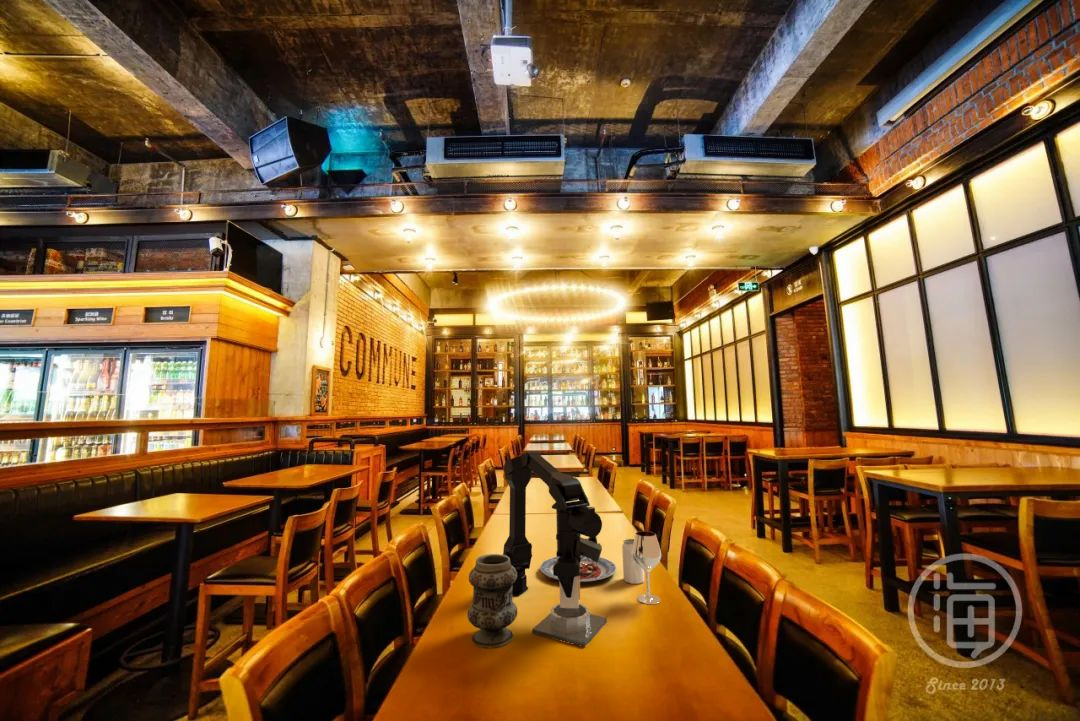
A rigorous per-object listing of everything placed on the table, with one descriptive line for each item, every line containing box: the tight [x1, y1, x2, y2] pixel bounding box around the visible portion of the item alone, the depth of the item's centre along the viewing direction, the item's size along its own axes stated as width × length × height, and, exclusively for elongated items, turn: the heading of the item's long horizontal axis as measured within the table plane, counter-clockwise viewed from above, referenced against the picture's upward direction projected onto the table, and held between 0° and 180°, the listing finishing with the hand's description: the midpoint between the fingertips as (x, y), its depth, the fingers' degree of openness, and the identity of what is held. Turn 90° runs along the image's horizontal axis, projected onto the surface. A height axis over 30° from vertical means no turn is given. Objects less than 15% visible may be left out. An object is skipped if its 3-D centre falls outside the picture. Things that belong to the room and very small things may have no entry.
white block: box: [558, 576, 581, 608], centre depth 108 cm, size 5×5×9 cm
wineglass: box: [632, 530, 662, 605], centre depth 123 cm, size 8×8×18 cm
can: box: [621, 538, 645, 585], centre depth 137 cm, size 6×6×12 cm
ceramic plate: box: [539, 555, 617, 583], centre depth 145 cm, size 26×26×3 cm
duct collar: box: [531, 602, 608, 648], centre depth 107 cm, size 14×14×4 cm
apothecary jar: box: [466, 553, 518, 649], centre depth 104 cm, size 12×12×18 cm
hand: (569, 593), depth 108 cm, fingers closed on white block, 5 cm apart
